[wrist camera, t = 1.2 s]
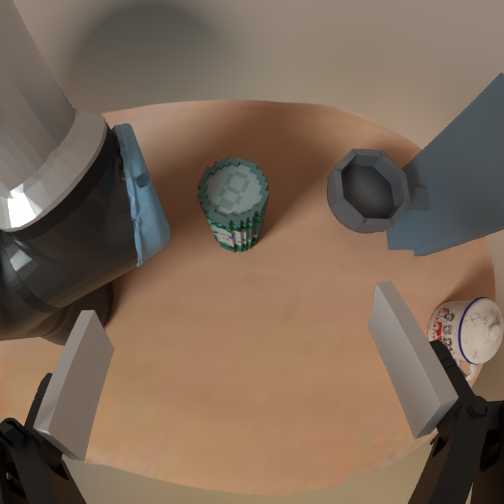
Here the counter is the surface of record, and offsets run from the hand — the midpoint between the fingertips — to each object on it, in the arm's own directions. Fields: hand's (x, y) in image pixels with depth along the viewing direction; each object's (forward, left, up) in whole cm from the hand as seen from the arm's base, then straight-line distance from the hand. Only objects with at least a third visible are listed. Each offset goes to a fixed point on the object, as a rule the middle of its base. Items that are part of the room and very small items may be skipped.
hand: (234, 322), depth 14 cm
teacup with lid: (+32, -6, -27) cm, 42 cm away
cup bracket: (+19, +14, -27) cm, 36 cm away
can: (0, +11, -27) cm, 29 cm away
